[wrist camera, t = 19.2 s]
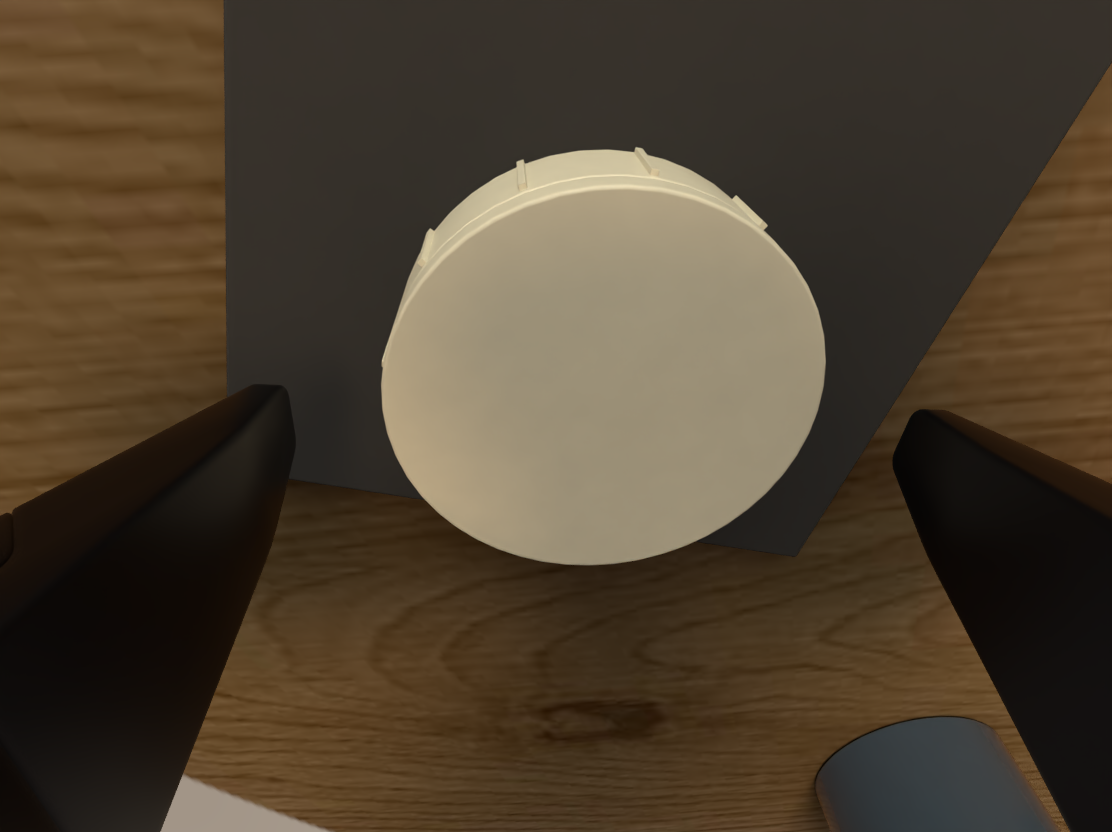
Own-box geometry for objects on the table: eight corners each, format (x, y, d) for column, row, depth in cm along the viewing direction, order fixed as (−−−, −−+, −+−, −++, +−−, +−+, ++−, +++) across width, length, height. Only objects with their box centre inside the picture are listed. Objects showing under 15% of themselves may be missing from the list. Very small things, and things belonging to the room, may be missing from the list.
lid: (858, 253, 11) (923, 304, 9) (660, 528, 14) (680, 603, 12) (484, 66, 9) (479, 87, 7) (353, 431, 12) (329, 504, 10)
